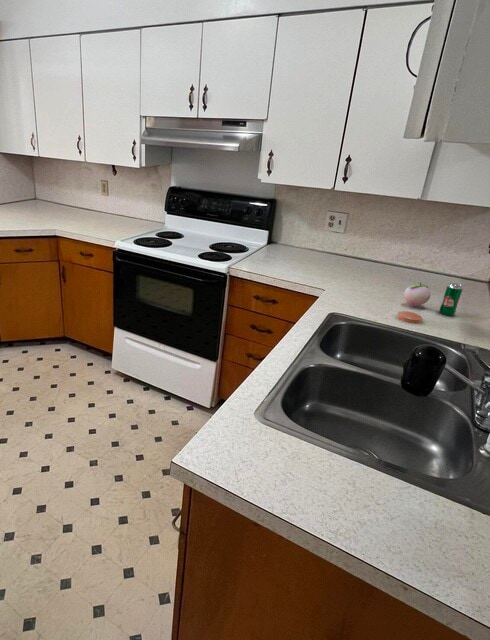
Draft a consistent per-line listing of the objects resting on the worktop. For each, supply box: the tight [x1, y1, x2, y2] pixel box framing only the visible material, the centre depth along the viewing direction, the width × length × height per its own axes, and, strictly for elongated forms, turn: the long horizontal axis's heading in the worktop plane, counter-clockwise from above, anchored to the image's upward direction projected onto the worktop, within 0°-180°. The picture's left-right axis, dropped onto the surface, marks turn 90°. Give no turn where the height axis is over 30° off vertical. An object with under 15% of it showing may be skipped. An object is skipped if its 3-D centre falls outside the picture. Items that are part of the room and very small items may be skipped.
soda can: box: [438, 282, 463, 317], centre depth 162 cm, size 5×5×12 cm
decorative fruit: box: [403, 282, 432, 307], centre depth 168 cm, size 9×8×10 cm
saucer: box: [396, 310, 423, 324], centre depth 157 cm, size 8×8×1 cm
